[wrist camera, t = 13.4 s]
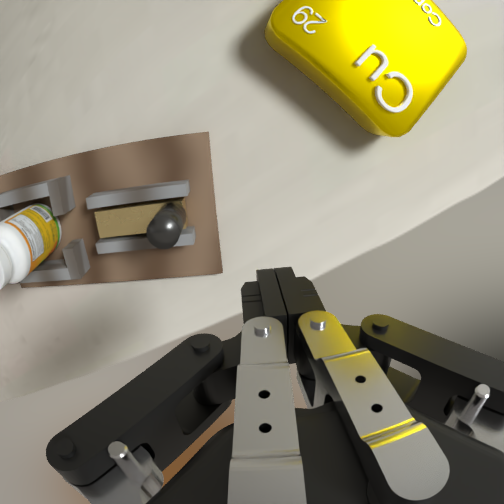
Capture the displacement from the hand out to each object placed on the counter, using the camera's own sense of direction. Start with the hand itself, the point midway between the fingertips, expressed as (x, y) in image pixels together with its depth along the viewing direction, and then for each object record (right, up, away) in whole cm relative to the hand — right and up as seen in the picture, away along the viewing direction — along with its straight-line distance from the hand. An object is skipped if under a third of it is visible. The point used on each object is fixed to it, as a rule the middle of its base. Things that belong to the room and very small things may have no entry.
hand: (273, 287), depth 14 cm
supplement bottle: (-22, +4, +13) cm, 26 cm away
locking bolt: (-11, +5, +13) cm, 17 cm away
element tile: (+10, +22, +9) cm, 25 cm away
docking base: (-16, +5, +14) cm, 22 cm away
